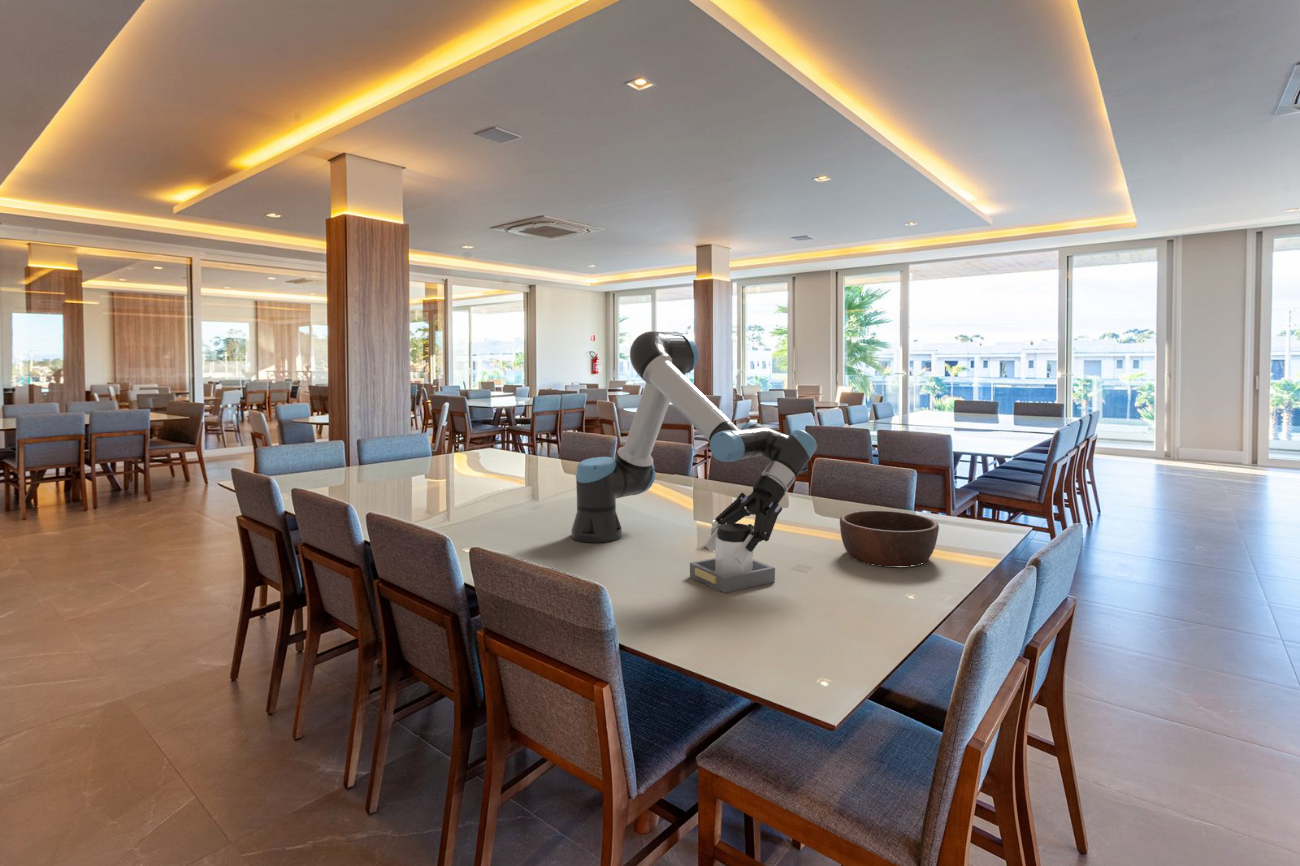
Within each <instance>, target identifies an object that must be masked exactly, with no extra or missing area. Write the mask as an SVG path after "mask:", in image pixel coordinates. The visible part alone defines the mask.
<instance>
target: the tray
mask: <svg viewBox="0 0 1300 866" xmlns="http://www.w3.org/2000/svg"><path fill="white" fill-rule="evenodd" d="M690 576H691V577H690ZM689 577H690V578H692V577H693V578H692V579H694V578H695V579H694V580H696V579H697V580H696V581H698V580H699V581H698V582H700V581H702V582H703V584H704V583H705V585H706V584H708V585H710V586H709V587H711V586H712V587H711V588H713V587H714V588H713V589H715V588H716V589H715V590H717V589H718V590H717V591H719V590H720V591H719V592H721V591H722V592H721V593H723V592H724V594H727V593H726V592H728V593H731V591H732V592H735V591H736V590H737V591H741V590H745V588H746V589H749V587H750V588H754V586H755V587H759V586H763V585H762V584H764V585H768V584H771V583H772V582H773V583H775V581H776V567H774V566H772V565H769V564H766V563H763V562H761V561H758V560H756V559H754V558H753V571H749V572H744V573H739V574H735V575H730V576H724V575H721V574H719V573H717V572H715V557H713V558H707V559H703V560H697V561H691V562H689ZM702 582H701V583H702ZM708 585H707V586H708ZM740 589H741V590H740Z"/></svg>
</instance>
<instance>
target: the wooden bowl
mask: <svg viewBox="0 0 1300 866" xmlns="http://www.w3.org/2000/svg"><path fill="white" fill-rule="evenodd" d="M839 527H840V536H841V540H842V544H843V546H844V549H845V550H846V553H847V554H848V555H849V556H850V557H851V558H852V559H853V558H854V560H855V559H856V561H857V560H858V562H860V561H861V562H860V563H863V562H865V563H864V564H867V563H869V564H868V565H871V564H874V565H873V566H876V565H881V566H880V567H883V566H911V565H918V564H921V563H924V562H925V563H927V562H928V561H929V559H930V558H931V556H932V555H933V553H934V550H935V548H936V544H937V540H938V535H939V529H940V525H939V523H938V522H937V521H935V520H934V519H932V518H930V517H927V516H923V515H921V514H915V513H911V512H903V511H896V510H895V511H894V510H884V509H883V510H882V509H881V510H877V509H876V510H875V509H869V510H868V509H867V510H855V511H851V512H846V513H843V515H841V516H840V517H839ZM925 563H924V564H925Z"/></svg>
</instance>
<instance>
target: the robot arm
mask: <svg viewBox="0 0 1300 866" xmlns="http://www.w3.org/2000/svg"><path fill="white" fill-rule="evenodd" d="M699 354H700V353H699V347H697V342H696V341H695V339H693V337H692V336H690V335H689V334H688V333H683V332H679V331H672V332H669V331H646V332H643V333H641V334H639V335H638V336H637V337H636V338H635V339H634V340H633V342H632V344H631V346H630V349H629V358H630V363H631V366H632V368H633V369H634V370H635V372H636V373H637V375H638V376H639V377H640V378H641V379H642V380H643V381H644V382H645V385H644V388H643V391H642V394H641V397H640V400H639V403H638V406H637V408H636V411H635V414H634V416H633V420H632V423H631V426H630V429H629V432H628V435H627V437H626V441H625V443H624V445H623V446H620V447H619V448H618V449H617V451H616V454H615V458H614V457H610V456H598V457H590V458H587V459H584V460H581V461H580V462H579V463H578V464H577V465H576V474H575V481H576V514H575V517H574V521H573V523H572V527H571V532H570V533H571V534H570V535H571V539H572V540H574V541H577V542H582V543H591V544H592V543H595V544H596V543H608V542H613V541H617V540H620V539H621V538H622V536H623V530H622V525H621V523H620V519H619V516H618V513H617V506H616V505H617V503H616V502H617V501H616V499H621V498H624V497H630V496H637V495H640V494H643V493H645V492H646V491H648V490H649V489H650V488H651V487H652V486H653V484H654V482H655V480H656V471H655V465H654V458H653V456H652V455H651V454H652V452H653V450H654V446H655V444H656V441H657V439H658V435H659V433H660V430H661V427H662V425H663V423H664V419H665V417H666V414H667V411H668V408H669V406H670V403H671V404H672V405H673V406H674V407H675V408H676V409H677V411H679V412H680V413H681V415H683V416H684V417H685V418H686V420H688V421H689V422H690V424H691V425H693V426H694V427H695V429H697V431H698V432H699V433H701V435H702V436H703V437H704V438H705V439H706V440H707V441H708V442H709V450H710V452H711V455H712V456H713V458H714V459H716V460H717V461H719V462H722V463H726V462H737V461H739V460H744V459H749V458H750V459H751V458H756V457H763V458H764V459H766V460H769V463H768V464H767V465H766V467H765V469H764V470H763V471H762V472H761V475H760V476H759V477H758V478H757V480H756V481H755V482H754V484H753V486H752V492H751V494H749V495H746V494H745V493H744V492H741V493H740V494H739V495H738V496H737V498H736V499H735V500H734V501H733V502H731V504H730V505H728V506H727V507H726V508H725V509H724V510H723V511H722V512H720V514H718V516H716V517H715V519H714V520H716V521H717V522H718V526H719V525H722V524H728V523H738V522H739V521H740V520H742V519H744V518H745V517H750V516H755V517H754V524H753V526H754V529H753V532H751V534H752V535H753V536H752V535H750V534H749V535H748V537H747V538H746V540H745V541H744V542H743V544H742V545H741V547H740V548H739V549H738V551H737V552H736V554H735V555H734V557H735V559H736V560H737V561H738V562H739V563H741V564H742V563H743V562H744V560H745V559H746V558H747V556H748V555H749V553H750V552H752V551H753V552H754V549H755V548H756V547H757V545H758V544H759V543H761V542H763V541H764V542H769V540H770V537H771V535H772V533H773V530H774V528H775V525H776V522H777V519H778V516H779V515H780V514H781V512H782V510H783V508H782V506H781V505H780V502H781V500H782V499H783V497H784V496H785V495H786V492H787V491H789V489H790V488H791V486H792V485H793V484H794V482H795V480H796V479H797V477H798V476H799V475H800V473H801V472H802V471H803V469H804V468H805V467H806V465H807V463H808V462H809V461H811V458H812V456H813V455H814V453H815V452H816V450H817V448H818V443H817V441H816V439H815V438H814V437H813V436H812V435H811V434H810V433H808V432H807V431H805V430H802V429H793V431H792V432H791V433H790V434H789V435H788V434H786V433H782V432H779V431H777V430H775V429H773V428H770V427H768V426H765V425H764V424H762V423H758V422H755V421H747V422H746V423H745V424H743V425H742V427H741V428H738V426H737V425H735V424H734V422H732V421H731V420H730V419H729V418H728V417H727V416H726V414H724V413H723V412H722V411H721V410H720V409H719V408H718V407H717V406H716V405H715V404H714V403H713V402H712V401H711V400H709V398H708V397H707V396H706V395H705V394H704V393H703V392H702V391H700V390H699V389H698V388H697V386H695V384H694V383H692V382H691V380H689V379H688V378H687V377H686V374H688V373H691V372H692V371H694V370H695V369H696V367H697V366H698V363H699V359H700V358H699V357H700V355H699ZM718 526H717V527H716V528H715V530H714V531H713V532H712V535H711V534H710V536H709V538H708V539H707V540H706V542H705V544H704V547H706V548H707V549H708V551H710V552H712V553H713V552H714V551H715V550H716V537H717V530H718Z"/></svg>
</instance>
